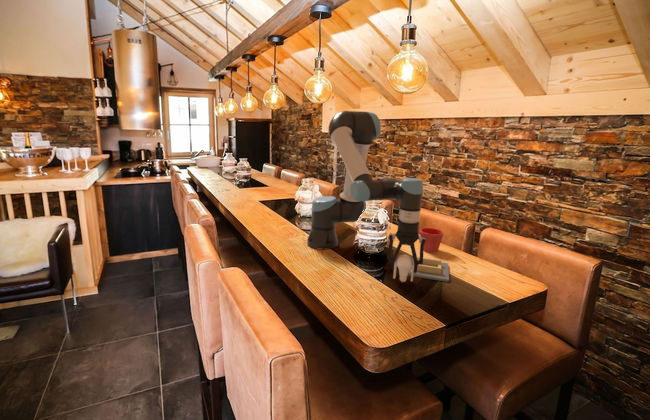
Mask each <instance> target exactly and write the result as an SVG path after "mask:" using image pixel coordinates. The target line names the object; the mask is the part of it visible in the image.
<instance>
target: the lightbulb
mask: <svg viewBox="0 0 650 420" xmlns="http://www.w3.org/2000/svg"><path fill="white" fill-rule="evenodd" d="M412 258H413V257H411V255H408V254H400V255H399V256H397V257H396V260H397V261H396V262H397V268H398V275H399V281H400V282H401V283H405V282H406V281H407V278H408V277H409V276H408V272H409V270H410V269H411V267H412V265H413V260H412Z"/></svg>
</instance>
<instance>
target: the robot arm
mask: <svg viewBox="0 0 650 420" xmlns="http://www.w3.org/2000/svg"><path fill="white" fill-rule="evenodd" d="M380 134H381V122H380V119H379V116H378V115H377V113H375V112H372V111H371V112H370V111H356V110H355V111H354V110H353V111H352V110H351V111H350V110H343V111H339V112H337V113H336V114H335V115H334V116H333V117H332V118H331V120H330V122H329V124H328V136H329V138H330V141H331V142H332V143H333V144H335V147H336V148H337V150H338V152H339V156H340V157H341V159H342V162H343V164H344V166H345V168H346V169H345V170H346V171H345V172H346V173H345V177H344V178H345V179H344V185H343V191H342V192H341V193H340V194H339V196H338V197H339V198H338V199H337V198H336V196H333V195H331V196H330V195H329V196H325V195H324V196H320V197H316V198H315V199H313V200H312V202H311V221H310V222H311V225H310V226H311V227H310V230H309V234H308V236H307V243H306V244H307V245H308V246H309V247H310V246H311V248H313V247H315V248H314V249H317V248H323V249H322V250H329V249H334V248H336V247H337V246H338V244H339V240H338V236H337V233H336V232H337V231H336V224H341V223H356V222H358V221H357V220H358V218H359V216H360V215H361V214H362V213H363V212H364V211H365V209H366V210H367V203H366V202H368V201H369V202H370V201H371V202H372V201H390V200H393V201H394V200H395V201H398V202H399V210H398V219H399V220H398V222H397V231H396V232H394V233H392V232H391V233H389V235H388V241H389V242H388V250H387V255H386V259H387V260H388V261H391V264H390V265H391V266H390V269H391V270H393V273H392V274H393V275H392V279H394V280H395V279H396V277H397V268H398V267H397V262H396V261H397V258H398V255H399V254H400V253H399V252H400V250H401V248H402V246H403V245H404V246H410V251H411V254H412V258H413V260H414V263H413V265H412V272H411V276H410V282H413V281H414V277H413V274H414V273H416V272H417V266H418V265H419V264H423V258H424V252H425V251H424V244H425V241H426V238H425V237H424V238H422V237H420V233H419V230H420V229H419V228H420V226H419V225H420V219H421V212H422V211H421V208H422V201H423V193H424V182H423V180H422V179H420V178H414V177H404V178H403V179H402V180H399V179H396V178H391V177H390V178H386V179H383V180H381V179H379V180H377V179H376V180H374V179H373V176H372V174H371V173H370V171H369V169H368V167H367V161H368V153H369V149H370V147H371V146H372V145H373V143H374V140H376V139H377V138H379V136H380ZM363 210H364V211H363ZM362 211H363V212H362ZM395 239H397V240H398V244H397V247H396V249H395V251H394V253H393V256H392V251H393V245H394V240H395ZM417 241H419V242H418V243H419V244H420V245H419V257H420V260H417V257H418V255H417V251H416V246H415V243H417ZM325 248H327V249H325Z"/></svg>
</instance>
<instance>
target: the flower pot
mask: <svg viewBox="0 0 650 420" xmlns="http://www.w3.org/2000/svg"><path fill="white" fill-rule="evenodd" d="M419 236H420V237H422V238H424V237H425V238H426V241H425V244H424V251H423V252H427V253H437V252H438V251H439V249H440V245H441V243H442V239H443V236H444V231H443V230H440V229H437V228H434V227H423V228H421V229H419Z"/></svg>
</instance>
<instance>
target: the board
mask: <svg viewBox="0 0 650 420" xmlns="http://www.w3.org/2000/svg"><path fill="white" fill-rule="evenodd" d="M411 258H412V260H413V257H411ZM417 260H420V256H417ZM413 263H414V260H413ZM449 271H450V270H449V262H442V259H437V258H430V257H429V258H428V257H423V264H419V265H418V266H417V272H416V273H414V274H413V278H420V279H427V280H434V281H438V282H439V281H440V282H447V283H450V273H449ZM411 272H412V267H411V269H410V270H409V272H408V276H407V277H411Z"/></svg>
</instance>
